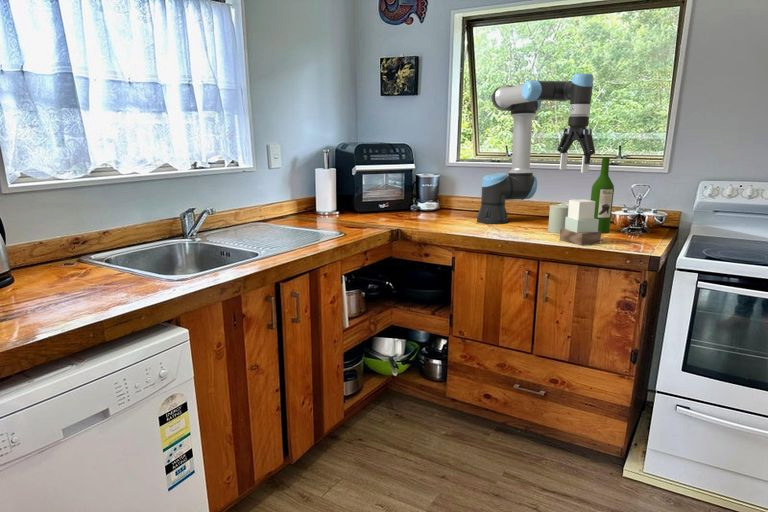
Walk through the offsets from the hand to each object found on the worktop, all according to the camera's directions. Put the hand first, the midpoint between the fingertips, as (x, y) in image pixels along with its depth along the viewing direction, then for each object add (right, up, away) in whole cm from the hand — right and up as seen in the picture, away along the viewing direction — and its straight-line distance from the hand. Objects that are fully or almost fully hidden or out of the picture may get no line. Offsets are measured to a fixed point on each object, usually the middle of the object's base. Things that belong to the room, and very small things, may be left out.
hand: (573, 171), depth 197 cm
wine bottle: (+20, -23, +22) cm, 38 cm away
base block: (+4, -29, +3) cm, 29 cm away
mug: (+12, -20, +38) cm, 44 cm away
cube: (+3, -19, +1) cm, 19 cm away
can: (+2, -23, +23) cm, 33 cm away
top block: (+4, -24, +2) cm, 24 cm away
